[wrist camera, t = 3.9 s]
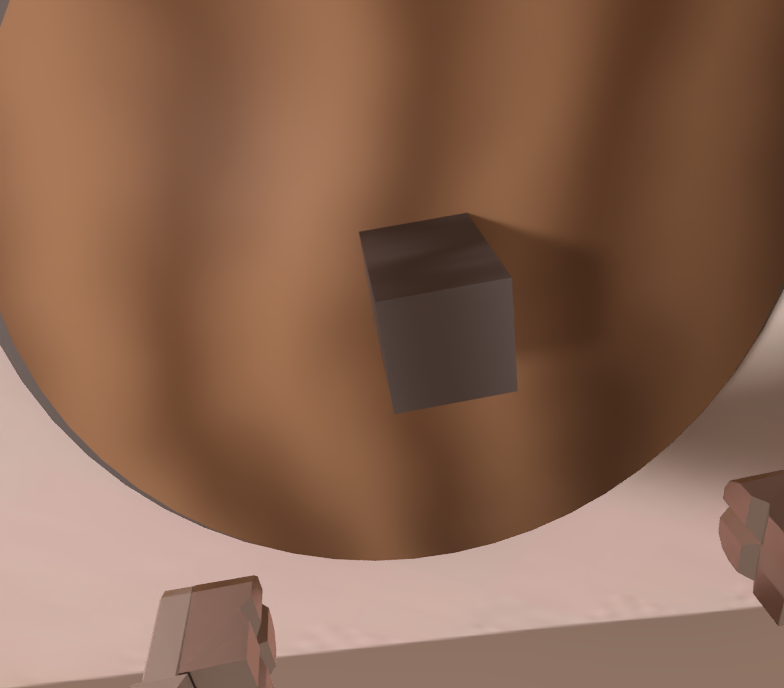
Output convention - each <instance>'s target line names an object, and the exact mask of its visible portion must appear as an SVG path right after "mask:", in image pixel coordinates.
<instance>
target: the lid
mask: <svg viewBox="0 0 784 688" xmlns="http://www.w3.org/2000/svg"><path fill="white" fill-rule="evenodd" d="M783 281H784V0H10V1H9V4H8V7H7V10H6V12H5V15H4V18H3V21H2V24H1V26H0V312H1V315H2V317H3V320H4V322H5V324H6V327H7V329H8V332H9V334H10V336H11V339H12V341H13V344H14V346H15V347H16V349H17V351H18V353H19V354H20V356H21V358H22V359H23V361H24V363H25V365H26V366H27V368H28V370H29V371H30V373H31V375H32V377H33V378H34V380H35V382H36V383H37V385H38V387H39V388H40V390H41V391H42V392H43V394H44V395H45V396H46V398H47V399H48V400H49V401H50V403H51V404H52V405H53V407H54V408H55V409H56V410H57V412H58V413H59V414H60V416H61V417H62V418H63V419H64V421H65V422H66V423H67V425H68V426H69V427H70V428H71V429H72V430H73V431H74V432H75V433H76V434H77V435H78V436H79V437H80V438H81V439H82V440H83V441H84V442H85V443H86V444H87V445H88V446H89V447H90V448H91V449H92V450H93V451H94V452H95V453H96V454H97V455H98V456H99V457H100V458H101V459H102V460H103V461H104V462H105V463H107V464H108V465H109V466H110V467H112V468H113V469H114V470H115V471H117V472H118V473H119V474H121V475H122V476H123V477H124V478H126V479H127V480H128V481H129V482H131V483H132V484H133V485H134V486H136V487H137V488H138V489H140V490H142V491H143V492H145V493H146V494H148V495H150V496H151V497H153V498H155V499H156V500H158V501H159V502H161V503H163V504H164V505H166V506H167V507H169V508H171V509H172V510H174V511H176V512H178V513H180V514H182V515H184V516H186V517H188V518H190V519H192V520H195V521H197V522H199V523H201V524H203V525H205V526H207V527H209V528H211V529H213V530H216V531H219V532H222V533H225V534H228V535H230V536H233V537H236V538H239V539H242V540H245V541H247V542H250V543H253V544H257V545H261V546H265V547H269V548H274V549H278V550H282V551H286V552H290V553H295V554H302V555H309V556H317V557H324V558H331V559H347V560H372V561H377V560H396V559H414V558H422V557H428V556H435V555H442V554H449V553H455V552H459V551H464V550H468V549H472V548H476V547H480V546H484V545H488V544H492V543H496V542H499V541H502V540H505V539H508V538H510V537H513V536H516V535H519V534H522V533H525V532H528V531H531V530H534V529H536V528H538V527H540V526H543V525H545V524H547V523H549V522H551V521H554V520H556V519H558V518H560V517H563V516H565V515H567V514H569V513H571V512H573V511H575V510H577V509H578V508H580V507H582V506H584V505H585V504H587V503H589V502H591V501H593V500H594V499H596V498H598V497H600V496H602V495H603V494H605V493H607V492H608V491H610V490H611V489H613V488H614V487H615V486H617V485H618V484H620V483H621V482H623V481H624V480H626V479H627V478H628V477H630V476H631V475H633V474H634V473H636V472H637V471H639V470H640V469H641V468H643V467H644V466H645V465H646V464H647V463H648V462H650V461H651V460H652V459H653V458H654V457H656V456H657V455H658V454H659V453H660V452H662V451H663V450H664V449H665V448H666V447H668V446H669V445H670V444H671V443H672V442H673V441H674V440H675V439H676V438H677V437H678V436H679V435H680V434H681V433H682V432H683V431H684V430H685V429H686V428H687V427H688V426H689V425H690V424H691V423H692V422H693V421H694V420H695V419H696V418H697V417H698V416H699V415H700V414H701V413H702V412H703V411H704V410H705V409H706V407H707V406H708V405H709V404H710V402H711V401H712V400H713V399H714V397H715V396H716V395H717V394H718V392H719V391H720V390H721V389H722V387H723V386H724V385H725V384H726V383H727V381H728V380H729V379H730V378H731V376H732V375H733V373H734V372H735V370H736V369H737V367H738V366H739V364H740V363H741V361H742V359H743V358H744V356H745V355H746V353H747V352H748V350H749V349H750V347H751V346H752V344H753V343H754V341H755V339H756V338H757V336H758V334H759V332H760V330H761V328H762V326H763V324H764V322H765V320H766V318H767V316H768V314H769V312H770V310H771V308H772V307H773V305H774V303H775V301H776V299H777V297H778V294H779V292H780V289H781V286H782V284H783Z"/></svg>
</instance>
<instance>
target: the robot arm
mask: <svg viewBox="0 0 784 688" xmlns="http://www.w3.org/2000/svg"><path fill="white" fill-rule="evenodd" d="M723 499H724V500H725V501H726V503H727V504H728V505H729V506H730V507H729V508H728V509H727V510H726V511H725V512H724V514H723V515H722V516H721V517H720V522H719V536H720V541H721V545H722V548H723V550H724V552H725V554H726V556H727V558H728V560H729V562H730V563H731V564H732V566H733V567H734V568H735V570H736V571H737V572H738V573H740V574H742V575H744V576H746V577H748V578H750V579H752V580H754V585H753V594H754V595H755V596H756V598H757V599H758V600H759V602H760V603H761V604H762V605H763V607H764V608H765V609H766V611H767V612H768V613H769V614H770V616H771V617H772V619H774V621H775V622H776V624H777V625H778V626H781V625H784V470H780V471H775V472H770V473H765V474H761V475H756V476H751V477H746V478H741V479H737V480H732V481H729V483H728V484H727V485H726V487H725V490H724V496H723ZM275 667H276V642H275V631H274V626H273V621H272V617H271V614H270V611H269V608H268V607H266V606H265V605H263V604H262V587H261V584H260V582H259V579H258V577H257V576H248V577H242V578H236V579H230V580H224V581H219V582H213V583H207V584H201V585H196V586H192V587H187V588H181V589H175V590H169V591H165V592H164V594H163V596H162V597H161V599H160V601H159V606H158V610H157V615H156V619H155V624H154V629H153V633H152V638H151V642H150V647H149V652H148V656H147V661H146V665H145V670H144V674H143V680H142V683H138V684H134V685H132V686H131V687H130V688H274V686H273V683H272V681H271V678H270V674H271V673H272V671H273V670H274V668H275Z"/></svg>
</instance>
